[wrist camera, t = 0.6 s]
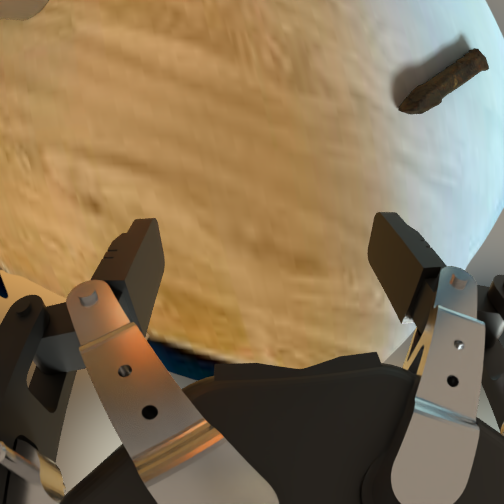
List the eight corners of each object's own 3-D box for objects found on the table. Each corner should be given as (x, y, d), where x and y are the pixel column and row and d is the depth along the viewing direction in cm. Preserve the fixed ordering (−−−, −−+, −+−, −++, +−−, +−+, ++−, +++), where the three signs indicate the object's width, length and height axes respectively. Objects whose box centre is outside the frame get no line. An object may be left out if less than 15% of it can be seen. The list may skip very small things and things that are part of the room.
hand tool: (467, 47, 30) (485, 47, 26) (477, 68, 32) (495, 71, 28) (387, 93, 36) (402, 96, 32) (400, 116, 38) (415, 121, 34)
